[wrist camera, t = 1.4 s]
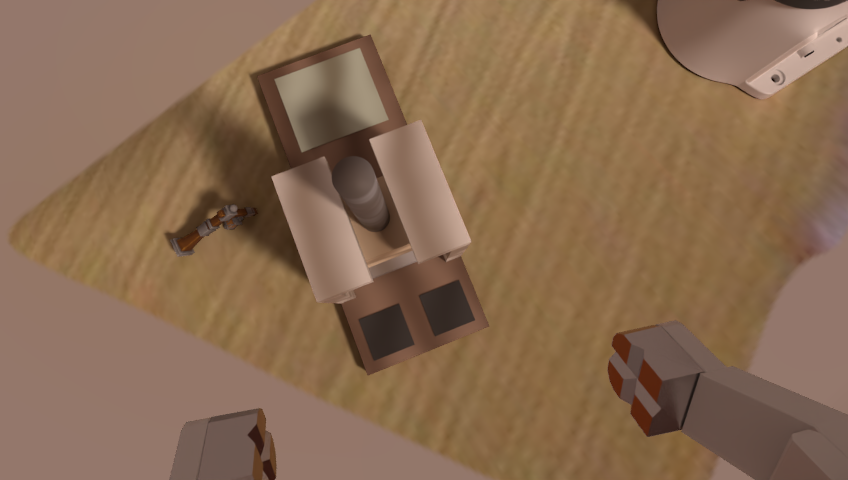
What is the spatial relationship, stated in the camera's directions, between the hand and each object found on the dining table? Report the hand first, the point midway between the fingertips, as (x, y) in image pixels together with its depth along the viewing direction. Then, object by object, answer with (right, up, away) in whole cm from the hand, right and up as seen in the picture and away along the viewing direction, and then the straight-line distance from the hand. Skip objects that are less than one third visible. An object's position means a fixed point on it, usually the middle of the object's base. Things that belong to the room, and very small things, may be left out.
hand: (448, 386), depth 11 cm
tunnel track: (-6, +7, +38) cm, 39 cm away
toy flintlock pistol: (-21, +4, +38) cm, 43 cm away
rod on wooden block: (-5, +4, +35) cm, 36 cm away
